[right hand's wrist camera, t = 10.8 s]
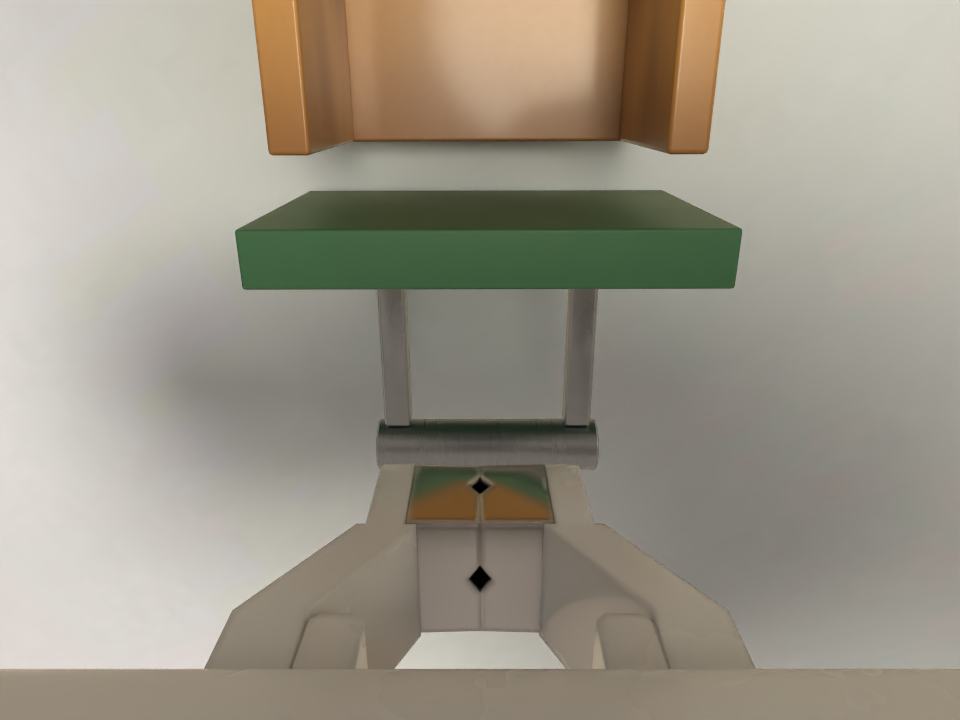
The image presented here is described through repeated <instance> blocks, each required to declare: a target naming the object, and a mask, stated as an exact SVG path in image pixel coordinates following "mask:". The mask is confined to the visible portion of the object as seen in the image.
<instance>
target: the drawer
mask: <svg viewBox="0 0 960 720" xmlns="http://www.w3.org/2000/svg"><path fill="white" fill-rule="evenodd" d="M252 6H253V15H254V24H255V33H256V42H257V51H258V60H259V69H260V78H261V87H262V96H263V105H264V114H265V123H266V132H267V141H268V150H269V153H270V154H271V155H310V154H313V153H316V152H320V151H323V150H326V149H330V148H333V147H336V146H339V145H343V144H346V143H349V142H393V141H624V142H628V143H631V144H635V145H639V146H642V147H646V148H650V149H653V150H657V151H661V152H664V153H668V154H704V153H707V151H708V148H709V139H710V130H711V122H712V113H713V104H714V95H715V87H716V78H717V69H718V60H719V52H720V43H721V34H722V26H723V17H724V8H725V0H252ZM235 235H236V242H237V250H238V257H239V265H240V272H241V280H242V287H243V289H246V290H285V289H377V292H378V309H379V326H380V343H381V360H382V376H383V393H384V410H385V419H382V420H380V422H379V424H378V429H377V440H376V455H377V464H378V467H379V469H381V467H382V466H383V465H384V464H412V463H414V464H415V465H417V464H442V465H480V466H494V465H535V464H544V465H545V464H569V463H576V464H577V465H578V466H579V469H580V470H594V469H596V467H597V463H598V456H599V439H598V429H597V425H596V422H595V420H594V419H590V409H591V393H592V377H593V361H594V345H595V329H596V312H597V296H598V289H725V288H734V286H735V279H736V272H737V265H738V258H739V250H740V243H741V236H742V229H741V228H739V227H736V226H734V225H732V224H730V223H728V222H726V221H724V220H722V219H720V218H718V217H716V216H714V215H712V214H710V213H708V212H706V211H704V210H701V209H699V208H697V207H695V206H693V205H691V204H689V203H687V202H685V201H683V200H681V199H679V198H677V197H675V196H673V195H671V194H669V193H666V192H664V191H662V190H590V191H310V192H308V193H306V194H304V195H302V196H300V197H298V198H296V199H295V200H293V201H291V202H289V203H287V204H285V205H283V206H281V207H279V208H277V209H275V210H273V211H272V212H270V213H268V214H266V215H264V216H262V217H260V218H258V219H256V220H254V221H252V222H251V223H249V224H247V225H245V226H243V227H241V228H239V229H237V230H236V231H235ZM407 289H568V305H567V327H566V348H565V370H564V392H563V414H562V415H563V419H411V418H412V401H411V378H410V355H409V332H408V309H407Z"/></svg>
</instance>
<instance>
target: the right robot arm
mask: <svg viewBox="0 0 960 720" xmlns="http://www.w3.org/2000/svg"><path fill="white" fill-rule="evenodd" d="M453 631H506V632H539V635H540V637H541V638H542V639H543V640H544V642H545V643H546V644H547V645H548V647H549V648H550V649H551V650H552V652H553V653H554V654H555V655H556V657H557V658H558V659H559V660H560V662H561V663H562V664H563V665H564V667H565V668H566V669H394V668H395V667H396V666H397V665H398V663H399V662H400V661H401V660H402V658H403V657H404V656H405V655H406V653H407V652H408V651H409V650H410V648H411V647H412V646H413V645H414V643H415V642H416V641H417V640H418V638H419V637H420V636H421V632H453ZM0 720H960V669H756V668H755V666H754V664H753V662H752V660H751V658H750V656H749V654H748V651H747V649H746V647H745V645H744V643H743V641H742V639H741V637H740V635H739V633H738V630H737V628H736V626H735V624H734V622H733V620H732V618H731V616H730V614H729V612H728V611H727V610H726V609H724V608H723V607H721V606H720V605H718V604H717V603H716V602H714V601H713V600H711V599H710V598H709V597H707V596H706V595H704V594H703V593H701V592H700V591H699V590H697V589H696V588H694V587H693V586H691V585H690V584H689V583H687V582H686V581H684V580H683V579H681V578H680V577H679V576H677V575H676V574H674V573H673V572H671V571H670V570H669V569H667V568H666V567H664V566H663V565H661V564H660V563H659V562H657V561H656V560H654V559H653V558H651V557H650V556H649V555H647V554H646V553H644V552H643V551H641V550H640V549H639V548H637V547H636V546H634V545H633V544H631V543H630V542H629V541H627V540H626V539H624V538H623V537H621V536H620V535H619V534H617V533H616V532H614V531H613V530H611V529H610V528H609V527H607V526H606V525H604V524H594V521H593V518H592V514H591V510H590V507H589V503H588V499H587V495H586V492H585V488H584V484H583V481H582V477H581V473H580V469H579V466H578V465H577V464H576V463H569V464H545V465H544V464H535V465H494V466H480V465H442V464H417V465H415V464H414V463H412V464H384V465H383V466H382V467H381V469H380V472H379V476H378V480H377V484H376V487H375V491H374V495H373V499H372V502H371V506H370V510H369V514H368V518H367V521H366V524H356V525H354V526H353V527H351V528H350V529H349V530H347V531H346V532H344V533H343V534H341V535H340V536H339V537H337V538H336V539H334V540H333V541H331V542H330V543H328V544H327V545H326V546H324V547H323V548H321V549H320V550H318V551H317V552H316V553H314V554H313V555H311V556H310V557H308V558H307V559H306V560H304V561H303V562H301V563H300V564H298V565H297V566H295V567H294V568H293V569H291V570H290V571H288V572H287V573H285V574H284V575H283V576H281V577H280V578H278V579H277V580H275V581H274V582H273V583H271V584H270V585H268V586H267V587H265V588H264V589H263V590H261V591H260V592H258V593H257V594H255V595H254V596H252V597H251V598H250V599H248V600H247V601H245V602H244V603H242V604H241V605H240V606H238V607H237V608H235V609H234V610H232V612H231V614H230V616H229V619H228V621H227V623H226V625H225V627H224V629H223V631H222V633H221V635H220V637H219V639H218V641H217V643H216V645H215V648H214V650H213V652H212V654H211V656H210V658H209V660H208V662H207V664H206V666H205V668H204V669H0Z"/></svg>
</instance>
